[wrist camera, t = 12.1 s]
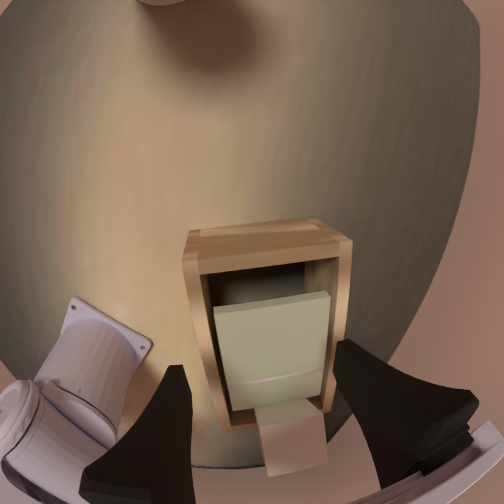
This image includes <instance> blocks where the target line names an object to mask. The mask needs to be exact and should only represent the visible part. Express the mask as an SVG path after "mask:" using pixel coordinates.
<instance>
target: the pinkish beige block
mask: <svg viewBox="0 0 504 504" xmlns="http://www.w3.org/2000/svg"><path fill="white" fill-rule="evenodd" d="M254 413H255V418H256V424H257V430H258V436H259V441H260V447H261V451H262V455H263V459H264V463H265V467H266V471H267V475H268V477H270V476H276V475H282V474H286V473H291V472H296V471H300V470H305V469H308V468H313V467H316V466H320V465H324V464H327V463H328V454H327V444H326V434H325V425H324V417H323V413H322V412H321V411H320V410H319V409H317V408H316V407H315V406H314V405H313V404H312V403H311V402H309V401H308V400H307V399H306V398H303V399H299V400H294V401H290V402H285V403H280V404H275V405H269V406H264V407H258V408H254Z"/></svg>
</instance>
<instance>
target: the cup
mask: <svg viewBox="0 0 504 504" xmlns="http://www.w3.org/2000/svg"><path fill="white" fill-rule="evenodd" d="M139 1H140V2H143V3H145V4H149V5H171V4H175V3H179V2H182V1H185V0H139Z"/></svg>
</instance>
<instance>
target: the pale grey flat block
mask: <svg viewBox="0 0 504 504" xmlns="http://www.w3.org/2000/svg"><path fill="white" fill-rule="evenodd" d="M330 297H331V296H330V295H329V294H328V293H327V291H326V290H324V291H319V292H313V293H307V294H301V295H295V296H289V297H282V298H276V299H269V300H262V301H255V302H248V303H241V304H234V305H226V306H218V307H213V308H214V318H215V324H216V330H217V335H218V341H219V346H220V351H221V357H222V362H223V367H224V372H225V377H226V382H227V386H228V391H229V396H230V401H231V405H232V410H233V411H237V410H244V409H251V408H258V407H264V406H269V405H275V404H280V403H285V402H290V401H294V400H299V399H303V398H308V397H312V396H316V395H320V392H321V385H322V378H323V370H324V362H325V354H326V344H327V334H328V323H329V311H330Z"/></svg>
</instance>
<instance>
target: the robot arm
mask: <svg viewBox="0 0 504 504" xmlns="http://www.w3.org/2000/svg"><path fill="white" fill-rule="evenodd" d="M73 305H74V306H75V307H76V308H74V307H73ZM142 346H144V347H146V348H143V347H142ZM150 347H151V341H150V340H149V339H148V338H146V337H144V336H142V335H140V334H139V333H137V332H135V331H133V330H131V329H129V328H128V327H126V326H124V325H122V324H121V323H119V322H117V321H115V320H114V319H112V318H110V317H108V316H107V315H105V314H103V313H102V312H100V311H99V310H97V309H95V308H94V307H92V306H90V305H89V304H87V303H86V302H84V301H83V300H81V299H80V298H78V297H73V298H72V299H71V301H70V304H69V307H68V310H67V313H66V317H65V320H64V323H63V326H62V330H61V333H60V337H59V339H58V341H57V342H56V344H55V346H54V347H53V349H52V350H51V352H50V354H49V355H48V357H47V359H46V360H45V362H44V364H43V365H42V367H41V369H40V370H39V372H38V374H37V375H36V377H35V379H34V381H33V382H32V381H31V380H17V381H15V382H13V383H11V384H10V385H9V386H8V387H7V388H6V389H4V391H3V392H2V393H1V394H0V504H196V502H195V494H194V487H193V479H192V469H191V434H192V416H193V409H192V393H191V390H190V387H189V384H188V381H187V378H186V374H185V371H184V368H183V365H170V366H169V367H168V368H167V370H166V372H165V375H164V377H163V379H162V381H161V383H160V384H159V386H158V388H157V390H156V392H155V393H154V395H153V397H152V399H151V400H150V402H149V403H148V405H147V407H146V408H145V410H144V411H143V413H142V414H141V415H140V417H139V418H138V420H137V421H136V422H135V423H134V425H133V426H132V427H131V428H130V429H129V431H128V432H127V433H126V434H125V435H124V436H123V437H122V438H121V439H120V440H119V439H118V438H117V433H118V429H119V424H120V419H121V415H122V410H123V406H124V402H125V398H126V393H127V389H128V385H129V381H130V379H131V378H132V376H133V374H134V373H135V371H136V370H137V368H138V366H139V365H140V363H141V361H142V360H143V358H144V357H145V355H146V353H147V352H148V350H149V349H150ZM332 372H333V374H334V377H335V380H336V382H337V385H338V387H339V389H340V391H341V393H342V394H343V396H344V398H345V400H346V402H347V403H348V405H349V407H350V408H351V410H352V412H353V414H354V415H355V417H356V419H357V421H358V423H359V425H360V427H361V429H362V431H363V434H364V436H365V439H366V441H367V444H368V447H369V450H370V452H371V455H372V458H373V461H374V465H375V468H376V471H377V475H378V479H379V483H380V487H381V490H380V491H378V492H375V493H373V494H371V495H368V496H366V497H363V498H361V499H358V500H356V501H353V502H350V503H348V504H385V503H387V502H389V501H391V500H392V501H391V502H389V503H387V504H448V503H450V502H451V501H452V500H454V499H455V498H456V497H458V496H459V495H460V494H462V493H463V492H464V491H466V490H467V489H468V488H469V487H470V486H472V485H473V484H474V483H475V482H476V481H478V480H479V479H480V478H481V477H482V476H483V475H484V474H485V473H486V472H488V471H489V470H490V469H491V468H492V467H493V466H494V465H495V464H496V463H497V462H498V461H499V460H500V459H501V458H502V457H503V456H504V438H503V437H502V435H501V434H500V433H499V432H498V431H497V430H496V428H495V427H494V426H493V425H492V423H491V422H490V421H489V420H486V421H485V422H484V423H483V424H481V425H480V426H479V427H478V428H476V429H475V430H474V431H473V432H472V433H471V434H470V433H469V432H468V430H469V429H470V427H469V425H468V424H467V422H468V421H469V419H470V418H471V417H472V415H473V414H474V413H475V411H476V409H477V408H478V405H479V400H478V399H477V398H476V397H475V395H474V394H473V393H472V392H471V391H470V390H464V389H456V388H455V389H454V388H449V387H444V386H440V385H436V384H432V383H429V382H426V381H423V380H420V379H417V378H415V377H412V376H410V375H408V374H405V373H403V372H401V371H399V370H397V369H395V368H394V367H392V366H390V365H388V364H386V363H385V362H383V361H381V360H380V359H378V358H377V357H375V356H374V355H372V354H370V353H369V352H367V351H366V350H365V349H363V348H362V347H360V346H359V345H357V344H356V343H354V342H353V341H351V340H350V339H345V340H341V341H337V345H336V351H335V358H334V364H333V370H332Z"/></svg>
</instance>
